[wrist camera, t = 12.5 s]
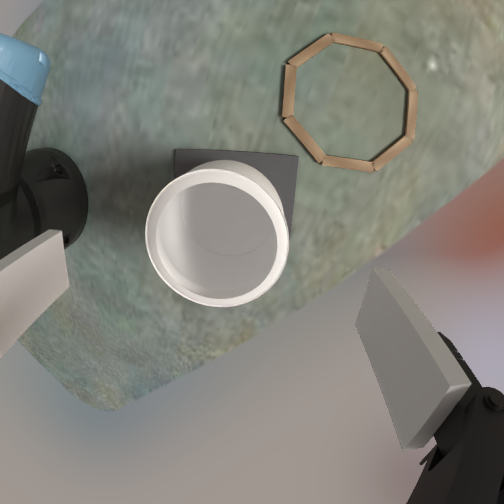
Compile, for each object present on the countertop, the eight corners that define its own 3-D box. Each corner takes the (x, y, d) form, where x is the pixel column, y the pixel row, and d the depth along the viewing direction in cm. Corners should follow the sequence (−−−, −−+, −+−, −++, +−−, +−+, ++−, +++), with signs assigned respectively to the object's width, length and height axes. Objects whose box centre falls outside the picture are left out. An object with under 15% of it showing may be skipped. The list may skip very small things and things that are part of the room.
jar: (171, 186, 35) (117, 224, 21) (244, 135, 32) (232, 137, 18) (223, 256, 38) (203, 329, 24) (295, 211, 36) (317, 265, 22)
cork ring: (278, 160, 34) (278, 160, 33) (288, 27, 28) (288, 26, 27) (407, 178, 34) (409, 178, 33) (417, 55, 28) (418, 55, 27)
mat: (175, 237, 38) (174, 238, 37) (176, 149, 34) (175, 149, 33) (288, 245, 38) (288, 247, 37) (297, 156, 34) (298, 156, 33)
